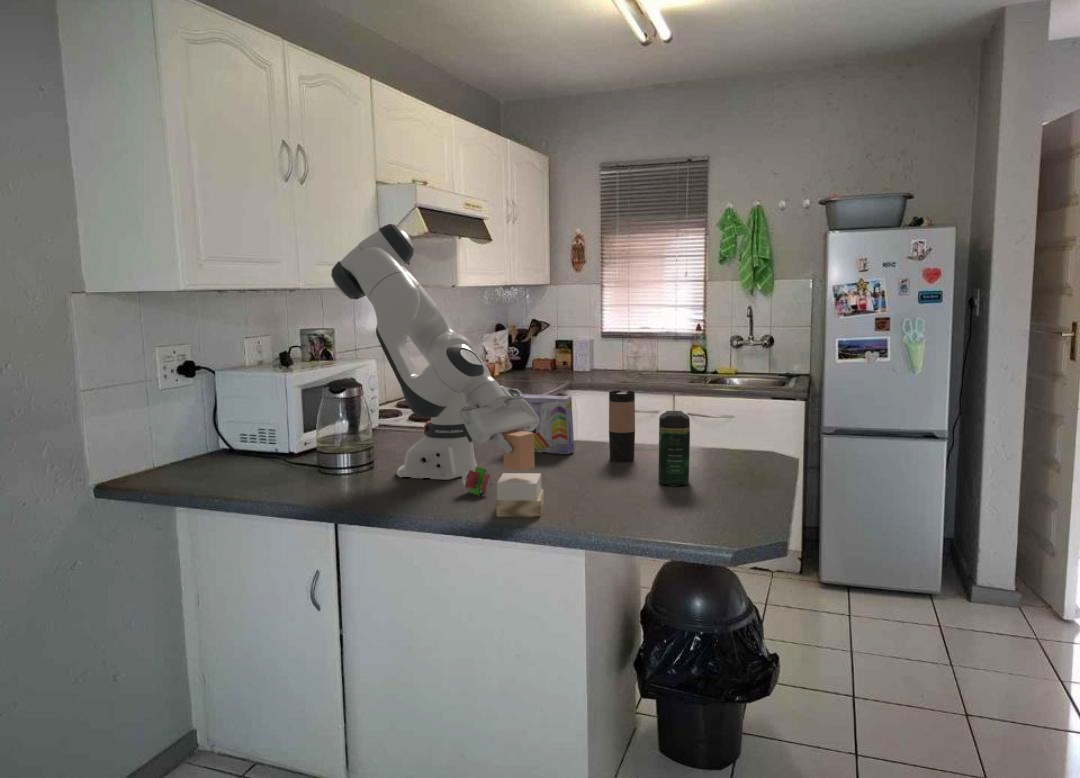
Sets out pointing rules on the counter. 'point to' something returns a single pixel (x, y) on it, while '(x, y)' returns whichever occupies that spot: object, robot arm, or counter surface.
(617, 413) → the travel mug
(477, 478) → the geometric puzzle
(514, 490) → the tower top
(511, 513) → the tower base
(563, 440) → the cake pan box
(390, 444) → the counter surface
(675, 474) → the coffee jar
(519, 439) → the pillar
